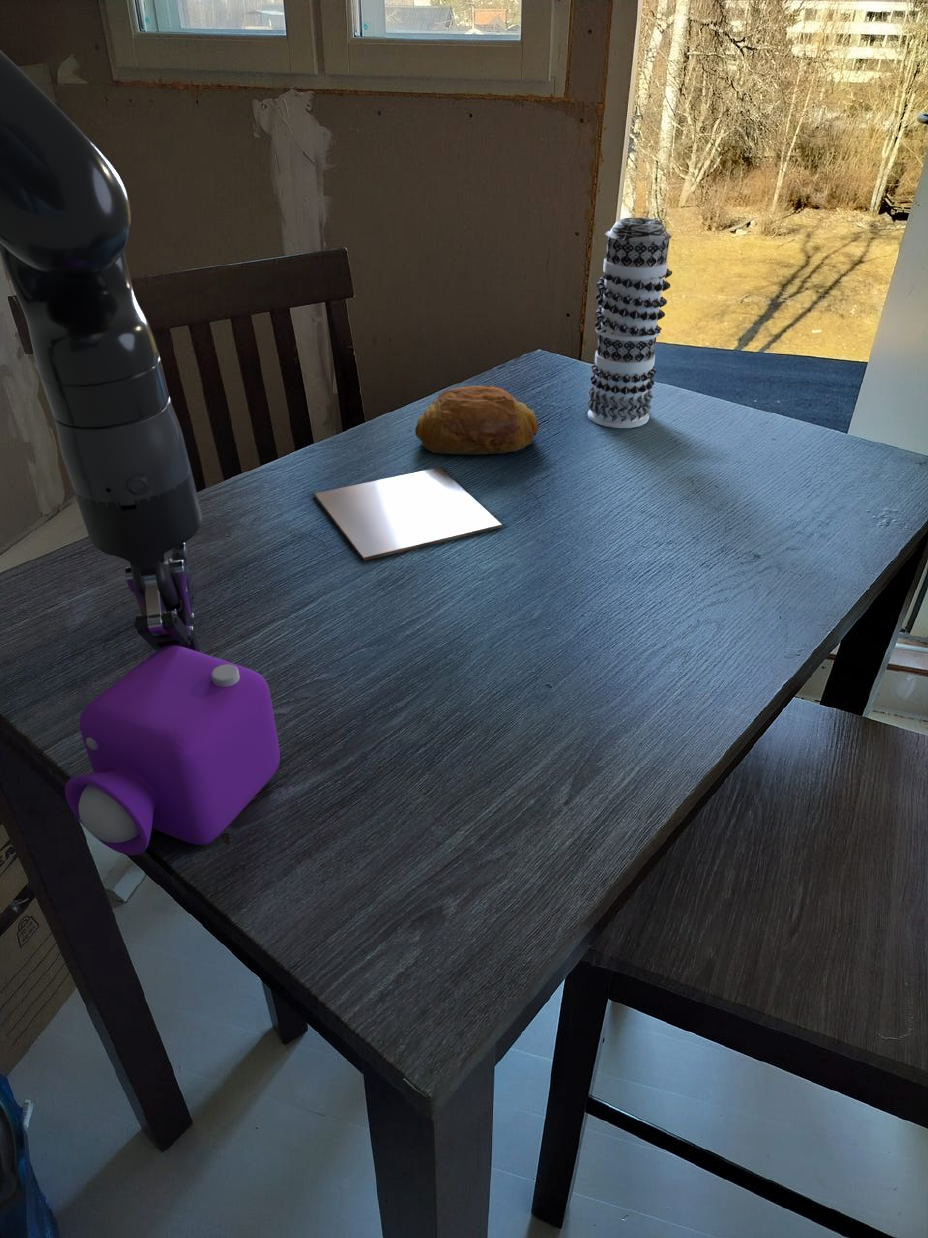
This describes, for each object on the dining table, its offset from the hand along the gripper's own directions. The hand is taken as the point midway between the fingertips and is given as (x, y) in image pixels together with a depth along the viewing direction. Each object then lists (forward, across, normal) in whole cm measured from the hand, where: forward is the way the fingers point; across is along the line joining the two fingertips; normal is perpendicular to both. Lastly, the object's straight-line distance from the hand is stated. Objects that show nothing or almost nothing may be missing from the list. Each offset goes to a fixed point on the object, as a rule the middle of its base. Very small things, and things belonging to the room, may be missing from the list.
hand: (188, 669), depth 67 cm
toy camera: (+3, +11, 0) cm, 12 cm away
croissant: (+6, -46, +34) cm, 58 cm away
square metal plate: (+5, -28, +22) cm, 36 cm away
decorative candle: (+7, -50, +55) cm, 74 cm away
